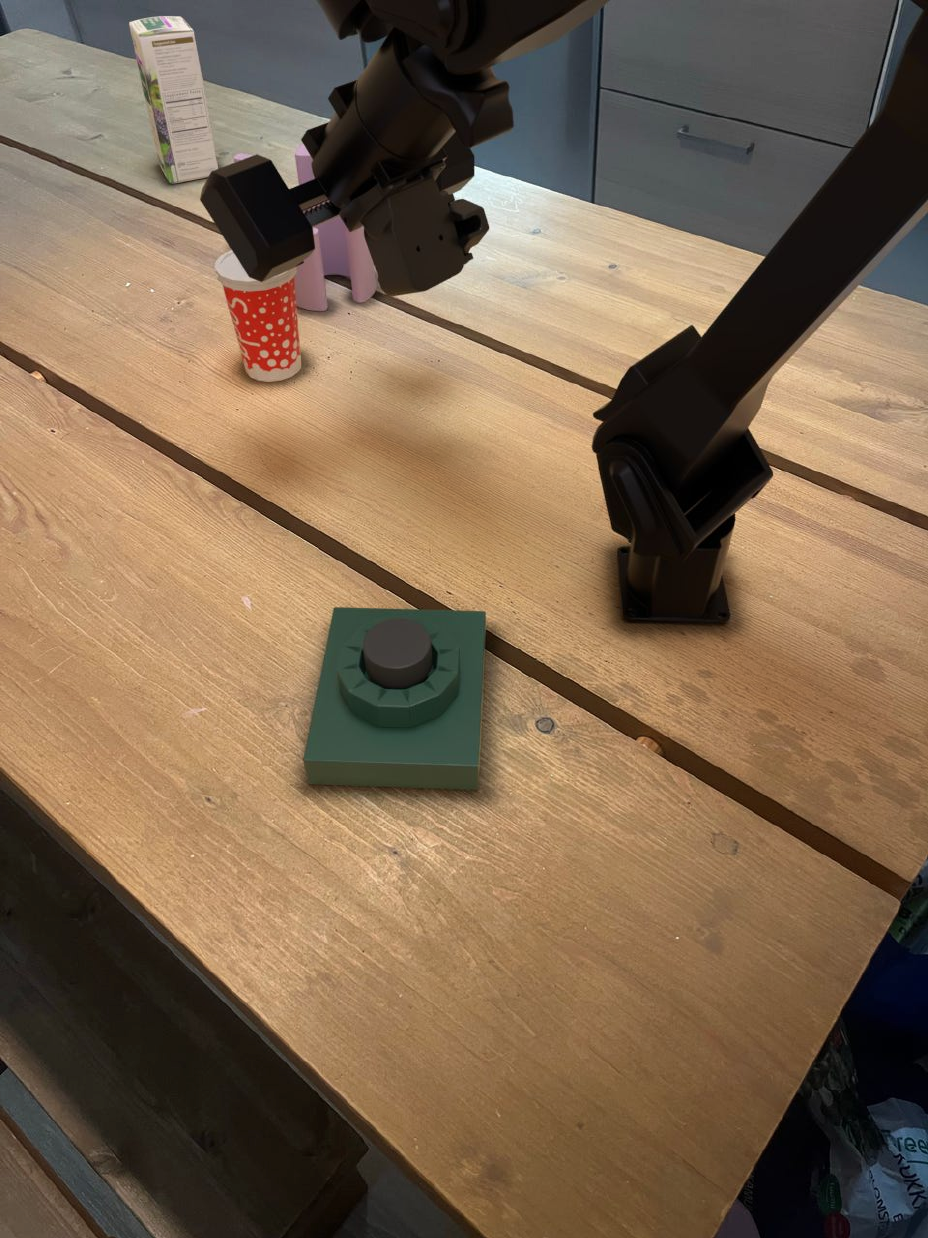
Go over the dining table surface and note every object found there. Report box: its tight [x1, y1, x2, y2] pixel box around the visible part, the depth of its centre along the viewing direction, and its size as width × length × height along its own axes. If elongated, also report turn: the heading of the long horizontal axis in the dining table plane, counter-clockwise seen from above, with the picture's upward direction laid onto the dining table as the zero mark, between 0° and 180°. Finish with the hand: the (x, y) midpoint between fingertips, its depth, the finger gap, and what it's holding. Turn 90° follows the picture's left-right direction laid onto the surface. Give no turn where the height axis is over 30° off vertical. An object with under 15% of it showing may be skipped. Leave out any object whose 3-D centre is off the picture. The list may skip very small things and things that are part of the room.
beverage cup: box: [214, 249, 302, 383], centre depth 74 cm, size 6×6×14 cm
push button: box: [363, 618, 432, 689], centre depth 51 cm, size 4×4×2 cm
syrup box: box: [128, 15, 219, 184], centre depth 102 cm, size 6×6×14 cm
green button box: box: [302, 606, 487, 791], centre depth 52 cm, size 11×9×4 cm
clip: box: [233, 142, 377, 312], centre depth 89 cm, size 20×12×7 cm, turn 23°
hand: (299, 243), depth 67 cm, fingers open, 9 cm apart
